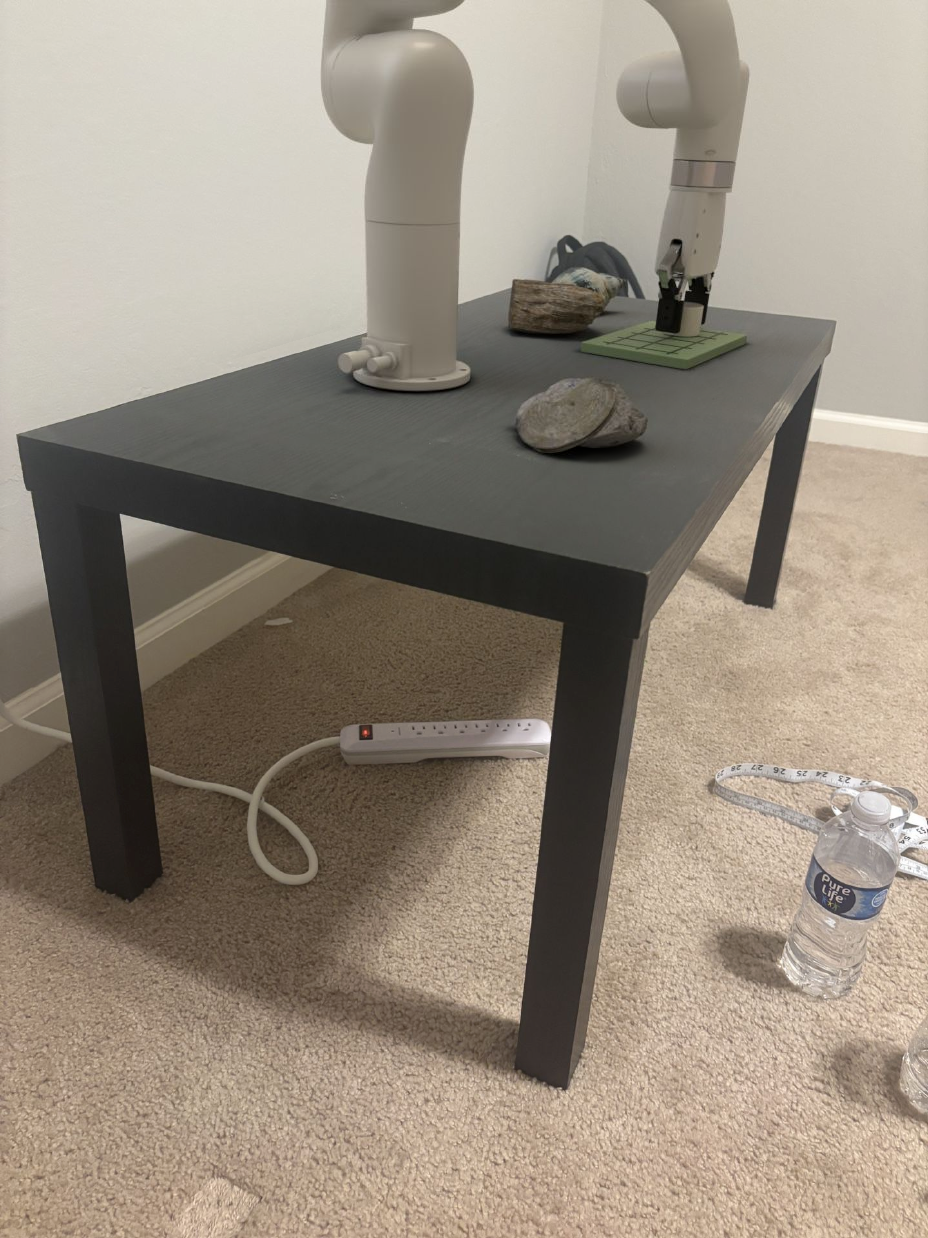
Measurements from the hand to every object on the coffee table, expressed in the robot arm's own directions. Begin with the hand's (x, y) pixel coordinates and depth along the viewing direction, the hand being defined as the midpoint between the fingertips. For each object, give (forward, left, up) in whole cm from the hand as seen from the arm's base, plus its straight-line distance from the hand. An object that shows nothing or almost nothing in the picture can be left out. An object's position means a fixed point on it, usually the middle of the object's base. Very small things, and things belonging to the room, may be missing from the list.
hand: (680, 326), depth 118 cm
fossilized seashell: (-47, -11, -2) cm, 48 cm away
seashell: (+11, +21, -2) cm, 24 cm away
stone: (-5, +16, -2) cm, 17 cm away
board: (-4, 0, -2) cm, 5 cm away
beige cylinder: (0, 0, -1) cm, 1 cm away
